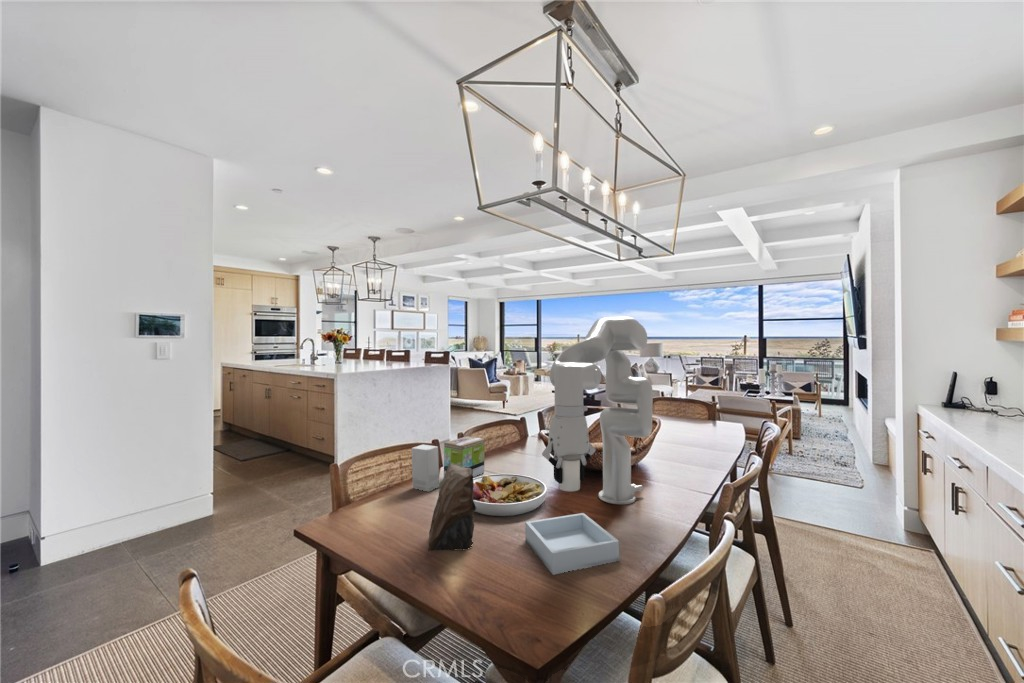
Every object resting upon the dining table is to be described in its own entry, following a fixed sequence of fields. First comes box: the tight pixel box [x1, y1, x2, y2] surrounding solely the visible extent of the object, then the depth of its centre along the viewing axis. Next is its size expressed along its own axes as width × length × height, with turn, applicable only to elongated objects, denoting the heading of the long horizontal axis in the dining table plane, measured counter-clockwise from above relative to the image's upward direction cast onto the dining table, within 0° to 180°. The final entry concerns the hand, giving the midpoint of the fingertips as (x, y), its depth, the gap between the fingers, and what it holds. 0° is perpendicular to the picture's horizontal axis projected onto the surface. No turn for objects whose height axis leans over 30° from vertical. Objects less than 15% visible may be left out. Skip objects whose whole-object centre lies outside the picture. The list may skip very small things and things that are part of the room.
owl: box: [427, 463, 476, 552], centre depth 112 cm, size 13×13×20 cm
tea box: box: [443, 435, 486, 478], centre depth 168 cm, size 15×10×15 cm, turn 148°
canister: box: [558, 454, 581, 492], centre depth 107 cm, size 6×6×9 cm
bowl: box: [473, 473, 548, 517], centre depth 141 cm, size 30×30×8 cm
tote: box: [524, 512, 620, 576], centre depth 107 cm, size 18×18×5 cm
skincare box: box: [411, 444, 440, 493], centre depth 154 cm, size 8×7×16 cm
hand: (569, 479), depth 107 cm, fingers closed on canister, 5 cm apart
